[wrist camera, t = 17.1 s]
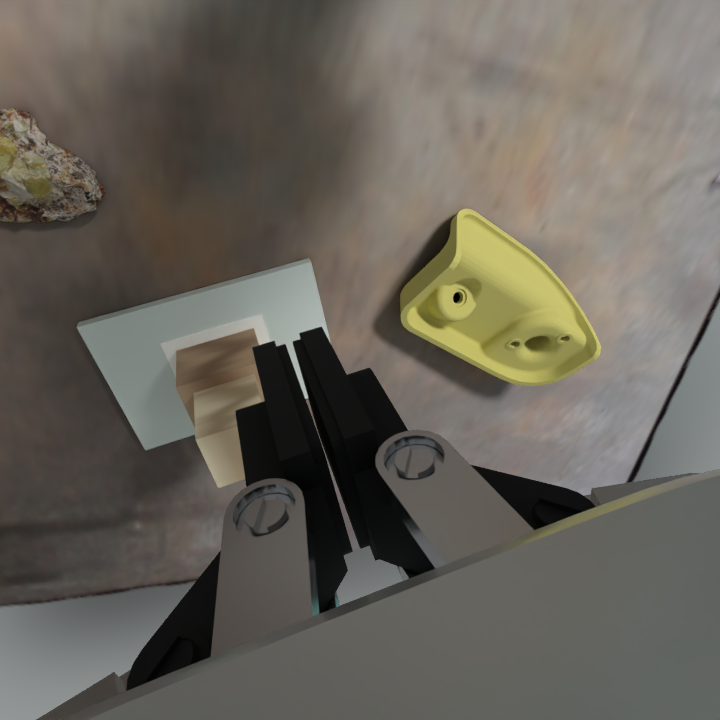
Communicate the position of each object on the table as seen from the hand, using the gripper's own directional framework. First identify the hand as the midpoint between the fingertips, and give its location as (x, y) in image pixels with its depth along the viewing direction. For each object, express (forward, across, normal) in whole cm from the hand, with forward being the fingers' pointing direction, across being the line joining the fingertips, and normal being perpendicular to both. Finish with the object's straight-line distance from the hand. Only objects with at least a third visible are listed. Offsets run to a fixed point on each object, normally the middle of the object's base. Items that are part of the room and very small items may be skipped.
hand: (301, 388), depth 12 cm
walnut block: (+32, +5, +18) cm, 37 cm away
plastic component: (+34, -22, +20) cm, 45 cm away
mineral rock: (+34, +13, -2) cm, 36 cm away
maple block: (+26, +5, +18) cm, 32 cm away
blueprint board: (+33, +5, +17) cm, 38 cm away
